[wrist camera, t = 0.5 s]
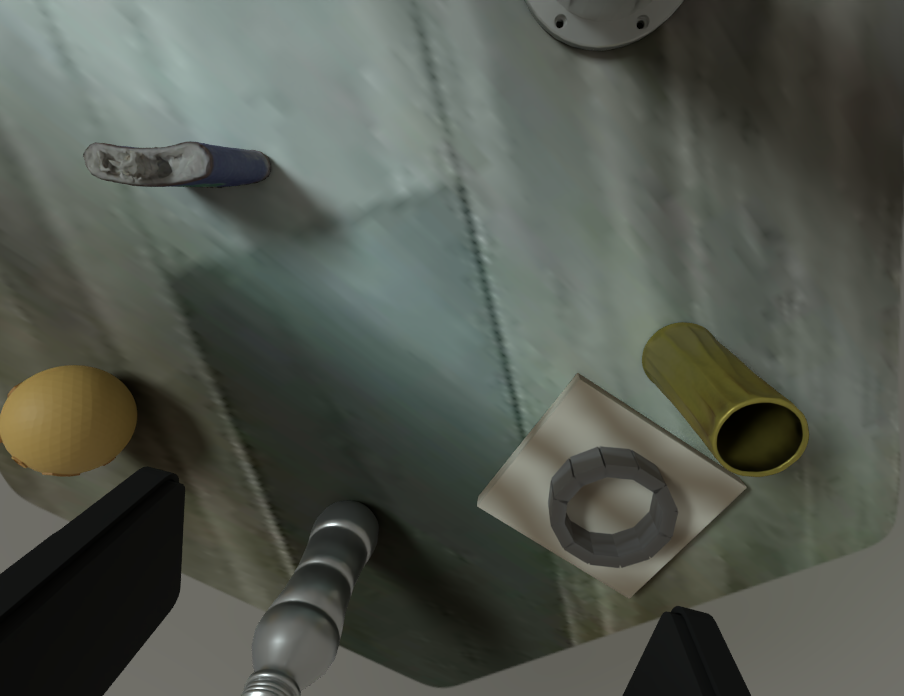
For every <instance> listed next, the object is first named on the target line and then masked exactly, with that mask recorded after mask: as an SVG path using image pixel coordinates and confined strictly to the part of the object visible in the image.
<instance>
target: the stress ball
mask: <svg viewBox="0 0 904 696" xmlns="http://www.w3.org/2000/svg"><path fill="white" fill-rule="evenodd" d="M136 423H137V408H136V403H135V400H134V398H133V396H132V394H131V392H130V391H129V390H128V388H127V387H126V386H125V385H124V384H123V383H122V382H121V381H120V380H119V379H117V378H116V377H115V376H113V375H111V374H110V373H107V372H105V371H103V370H100V369H97V368H93V367H88V366H78V365H71V366H61V367H55V368H51V369H48V370H45V371H42V372H40V373H37V374H35V375H33V376H32V377H30V378H28V379H27V380H25V381H24V382H22V383H20V384H18V385H16V386H14V387H13V389H12V390H11V391H10V392H9V393H8V399H7V400H6V402H5V404H4V406H3V409H2V411H1V414H0V443H1V442H3V444H4V445H5V447H6V449H7V450H8V452H9V453H10V454H11V455H12V456H13V457H11V458H12V459H13V460H14V461H15V462H17V463H18V464H19V465H21V466H23V467H24V468H27V467H28V468H31V469H33V470H35V471H38V472H42V475H53V476H76V475H80V473H83V472H86V471H90V470H92V469H95V468H98V467H100V466H105V465H106V464H108V463H110V462H111V461H112V460H113V459H114V458H116V457H115V456H117V455H118V454H119V453H120V452H121V451H122V450H123V449H124V448H125V446H126V445H127V444H128V442H129V441H130V439H131V437H132V435H133V433H134V430H135V427H136Z"/></svg>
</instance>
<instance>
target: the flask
mask: <svg viewBox="0 0 904 696" xmlns="http://www.w3.org/2000/svg"><path fill="white" fill-rule="evenodd" d="M83 157H84V160H85V165H86V166H87V168H88V169H89V171H90V172H91V174H92V175H94V176H96V177H98V178H100V179H102V180H106V181H112V182H116V183H122V184H128V185H132V186H146V187H166V186H176V187H185V186H190V187H191V186H193V187H207V188H208V187H210V188H213V187H217V188H222V187H228V186H229V187H230V186H239V185H243V184H244V185H247V184H251V183H257V182H260V181H263V180H264V179H266V177H268V176H269V173H270V170H271V167H270V162H269V159H268V157H267V156H266V155H264V154H263V153H262V152H260V151H256V150H244V149H237V148H228V147H221V146H215V145H208V144H205V143H199V142H184V143H180V144H177V145H173V146H168V147H161V148H157V147H155V148H134V147H126V146H116V145H111V144H106V143H93V144H91V145H89V147H88V148H87V149H86V150H85V152H84V154H83ZM269 169H270V170H269Z"/></svg>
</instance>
